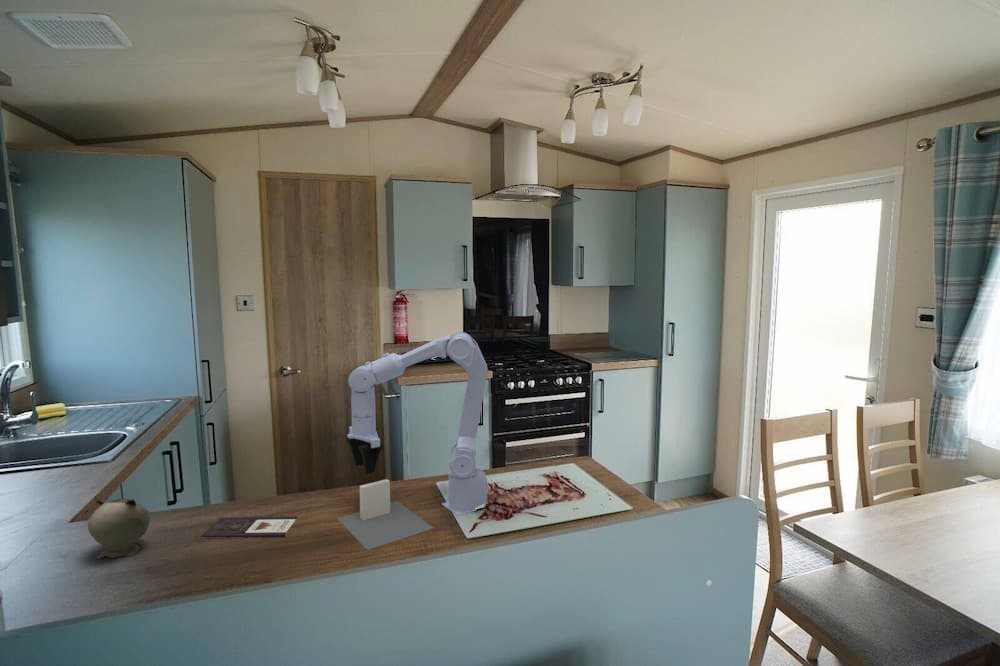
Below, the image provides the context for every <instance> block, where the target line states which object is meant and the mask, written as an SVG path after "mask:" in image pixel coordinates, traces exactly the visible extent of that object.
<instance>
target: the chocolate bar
mask: <svg viewBox="0 0 1000 666" xmlns="http://www.w3.org/2000/svg"><path fill="white" fill-rule="evenodd" d="M297 519H298V516H248V517H246V516H244V517H243V516H241V517H239V516H238V517H220V518H219V519H218V520H216V522H215V523H214V524H213V525H212V526H211V527H210V528H208V529H207V530H206V531H205V532H204V533H203V534H202V535H201V536H200V538H201V537H227V538H226V539H231V538H230V537H236V538H235V539H238V538H237V537H244V538H243V539H249V538H248V537H252V538H251V539H257V538H258V537H261V538H262V539H263V538H264V539H265V538H266V539H268V538H271V539H272V538H285V536H286V533H287V532H288V530H289V529H290V528H291V526H292V525H293V524H294V523H295V522H296V520H297ZM253 537H254V538H253ZM258 539H259V538H258Z"/></svg>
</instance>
